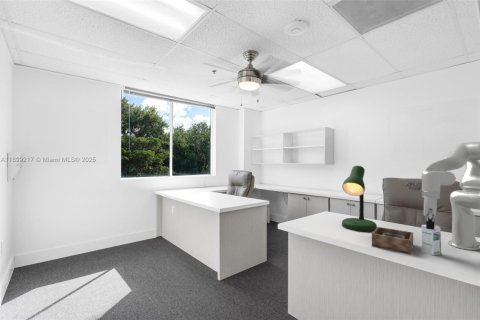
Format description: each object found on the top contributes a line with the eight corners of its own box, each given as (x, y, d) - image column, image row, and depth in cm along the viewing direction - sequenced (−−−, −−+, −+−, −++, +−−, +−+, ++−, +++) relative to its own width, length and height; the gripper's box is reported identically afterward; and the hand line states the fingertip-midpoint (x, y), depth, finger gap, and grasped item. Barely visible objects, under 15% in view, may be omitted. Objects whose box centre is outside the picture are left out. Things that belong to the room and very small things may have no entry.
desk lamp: (369, 237, 147) (369, 166, 147) (333, 230, 162) (333, 165, 162) (379, 226, 170) (379, 165, 170) (347, 221, 185) (347, 165, 185)
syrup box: (433, 255, 119) (433, 227, 119) (421, 251, 124) (421, 224, 124) (441, 254, 120) (441, 226, 120) (429, 250, 126) (429, 223, 126)
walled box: (413, 244, 134) (413, 232, 134) (410, 254, 120) (410, 240, 120) (377, 237, 146) (377, 226, 146) (371, 245, 132) (371, 233, 132)
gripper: (422, 192, 131) (421, 222, 131) (421, 195, 118) (420, 229, 118) (439, 194, 126) (439, 225, 126) (440, 197, 113) (440, 232, 113)
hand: (430, 227), depth 122 cm, fingers open, 9 cm apart
